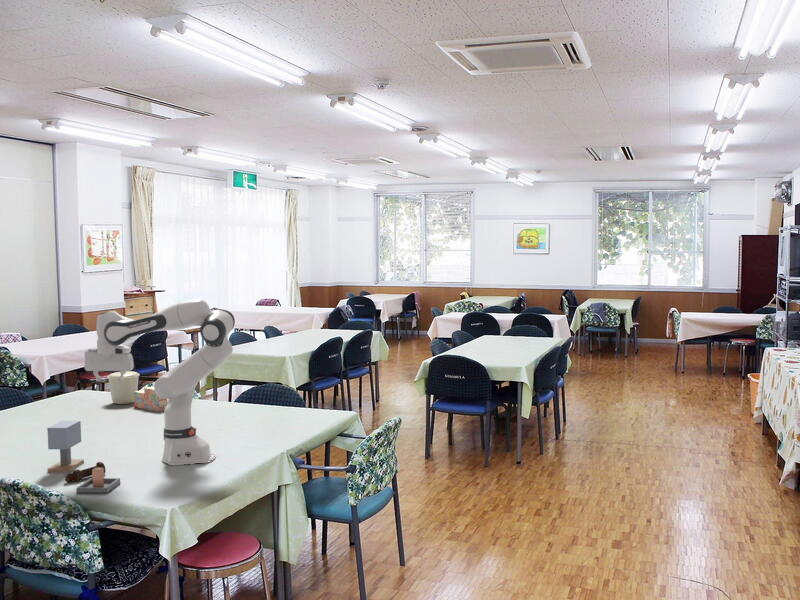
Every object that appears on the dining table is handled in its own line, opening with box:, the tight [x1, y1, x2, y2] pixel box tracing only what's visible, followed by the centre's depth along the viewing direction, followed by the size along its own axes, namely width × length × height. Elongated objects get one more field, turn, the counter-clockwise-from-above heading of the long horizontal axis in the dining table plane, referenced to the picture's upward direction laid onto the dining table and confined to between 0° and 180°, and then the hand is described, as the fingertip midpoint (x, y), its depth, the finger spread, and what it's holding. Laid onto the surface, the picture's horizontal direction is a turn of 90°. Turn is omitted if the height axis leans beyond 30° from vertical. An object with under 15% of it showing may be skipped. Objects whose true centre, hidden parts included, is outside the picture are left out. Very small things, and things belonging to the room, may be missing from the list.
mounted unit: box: [46, 420, 85, 473], centre depth 301 cm, size 10×13×18 cm
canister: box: [106, 370, 140, 405], centre depth 427 cm, size 18×18×21 cm
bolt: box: [64, 461, 107, 483], centre depth 288 cm, size 6×5×15 cm
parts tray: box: [76, 477, 121, 495], centre depth 275 cm, size 12×12×2 cm
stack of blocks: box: [133, 385, 168, 412], centre depth 412 cm, size 21×6×12 cm, turn 59°
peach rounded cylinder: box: [91, 468, 105, 487], centre depth 275 cm, size 4×4×7 cm
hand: (109, 381), depth 308 cm, fingers open, 8 cm apart
